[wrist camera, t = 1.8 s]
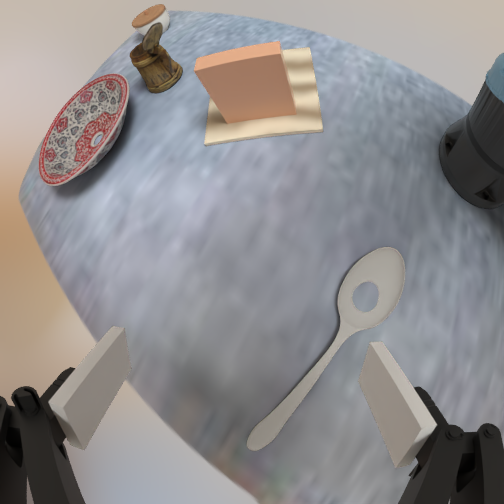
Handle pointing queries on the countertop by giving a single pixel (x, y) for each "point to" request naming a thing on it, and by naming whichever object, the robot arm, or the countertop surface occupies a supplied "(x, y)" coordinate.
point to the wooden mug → (155, 62)
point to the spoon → (342, 330)
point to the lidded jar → (151, 19)
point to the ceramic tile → (248, 82)
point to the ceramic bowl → (84, 129)
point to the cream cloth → (283, 125)
